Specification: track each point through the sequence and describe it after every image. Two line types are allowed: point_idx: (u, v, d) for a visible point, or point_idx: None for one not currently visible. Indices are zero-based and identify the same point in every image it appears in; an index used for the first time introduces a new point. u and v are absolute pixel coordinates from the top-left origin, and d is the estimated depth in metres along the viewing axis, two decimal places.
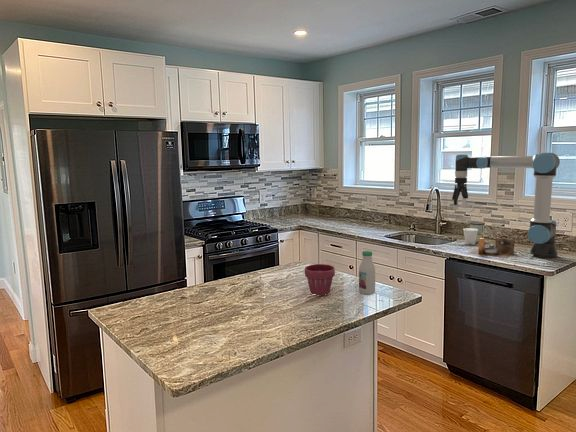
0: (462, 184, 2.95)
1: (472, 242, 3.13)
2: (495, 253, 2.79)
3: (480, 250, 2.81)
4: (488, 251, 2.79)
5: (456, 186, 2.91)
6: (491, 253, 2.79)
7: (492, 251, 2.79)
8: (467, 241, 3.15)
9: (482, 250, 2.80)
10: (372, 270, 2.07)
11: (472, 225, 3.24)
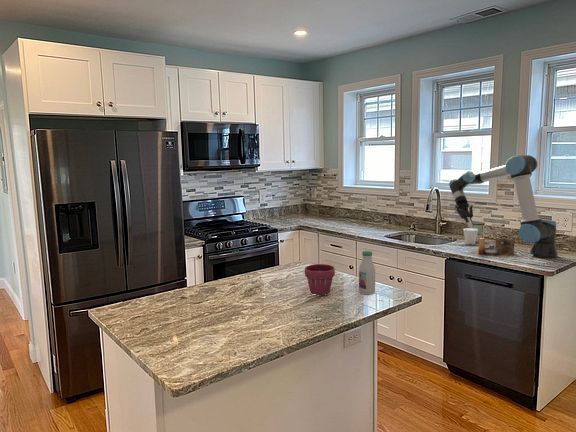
0: (462, 203, 3.05)
1: (472, 242, 3.13)
2: (495, 253, 2.79)
3: (480, 250, 2.81)
4: (488, 251, 2.79)
5: (455, 208, 3.04)
6: (491, 253, 2.79)
7: (492, 251, 2.79)
8: (467, 241, 3.15)
9: (482, 250, 2.80)
10: (372, 270, 2.07)
11: (472, 225, 3.24)
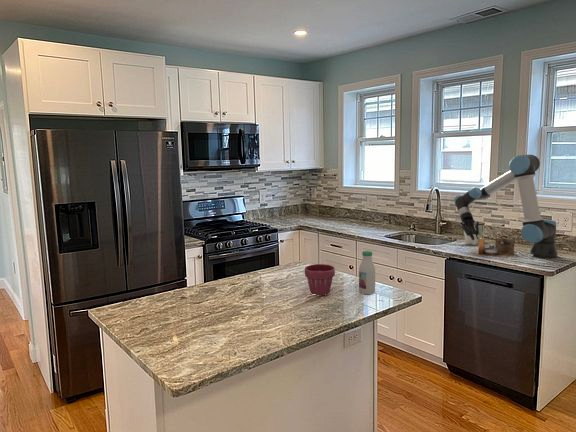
0: (468, 219, 2.98)
1: (472, 242, 3.13)
2: (495, 253, 2.79)
3: (480, 250, 2.81)
4: (488, 251, 2.79)
5: (460, 224, 2.97)
6: (491, 253, 2.79)
7: (492, 251, 2.79)
8: (467, 241, 3.15)
9: (482, 250, 2.80)
10: (372, 270, 2.07)
11: None
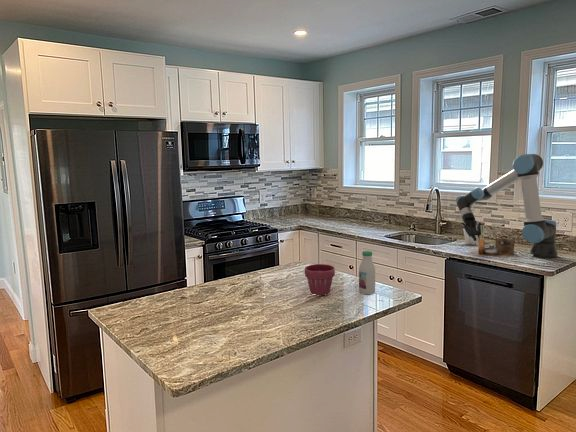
0: (470, 220, 2.95)
1: (472, 242, 3.13)
2: (495, 253, 2.79)
3: (480, 250, 2.81)
4: (488, 251, 2.79)
5: (462, 225, 2.94)
6: (491, 253, 2.79)
7: (492, 251, 2.79)
8: (467, 241, 3.15)
9: (482, 250, 2.80)
10: (372, 270, 2.07)
11: None
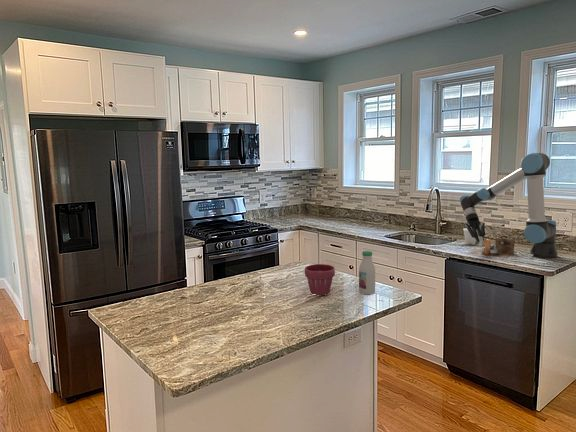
0: (474, 220, 2.90)
1: (472, 242, 3.13)
2: (498, 253, 2.80)
3: (488, 252, 2.76)
4: (494, 251, 2.78)
5: (466, 226, 2.89)
6: (496, 253, 2.78)
7: (497, 251, 2.78)
8: (467, 241, 3.15)
9: (489, 252, 2.76)
10: (372, 270, 2.07)
11: None
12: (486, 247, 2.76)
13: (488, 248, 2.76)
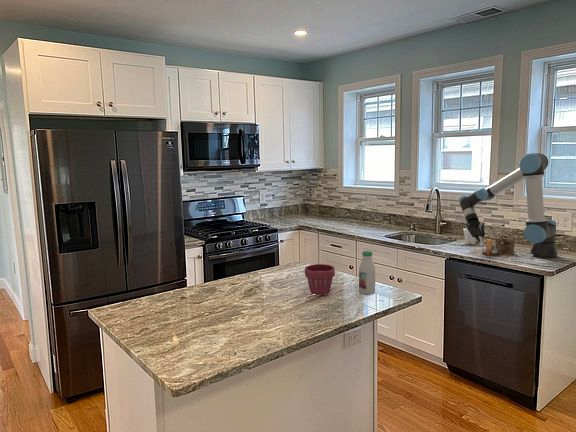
0: (473, 220, 2.91)
1: (472, 242, 3.13)
2: (498, 252, 2.80)
3: (490, 252, 2.76)
4: (495, 251, 2.78)
5: (466, 226, 2.89)
6: (497, 253, 2.79)
7: (498, 251, 2.79)
8: (467, 241, 3.15)
9: (491, 252, 2.76)
10: (372, 270, 2.07)
11: None
12: (488, 247, 2.75)
13: (490, 248, 2.75)
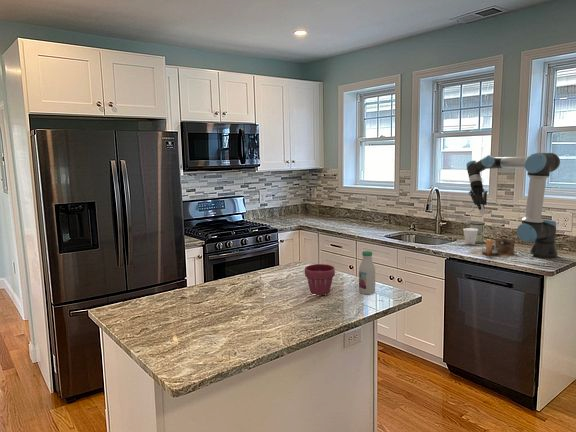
0: (478, 188, 3.00)
1: (472, 242, 3.13)
2: (498, 252, 2.80)
3: (490, 252, 2.76)
4: (495, 251, 2.78)
5: (470, 193, 2.99)
6: (497, 253, 2.79)
7: (498, 251, 2.79)
8: (467, 241, 3.15)
9: (491, 252, 2.76)
10: (372, 270, 2.07)
11: (472, 225, 3.24)
12: (488, 247, 2.75)
13: (490, 248, 2.75)
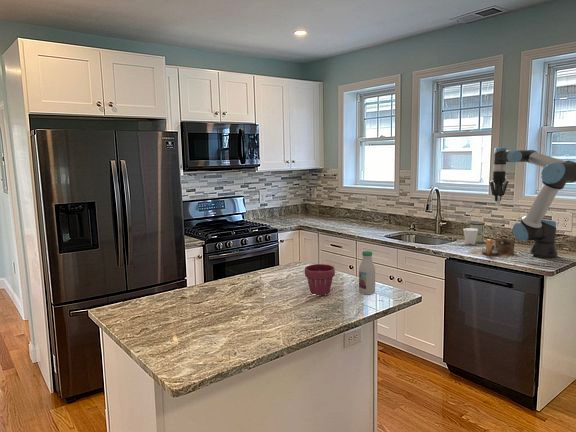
0: (500, 178, 2.95)
1: (472, 242, 3.13)
2: (498, 252, 2.80)
3: (490, 252, 2.76)
4: (495, 251, 2.78)
5: (490, 183, 2.96)
6: (497, 253, 2.79)
7: (498, 251, 2.79)
8: (467, 241, 3.15)
9: (491, 252, 2.76)
10: (372, 270, 2.07)
11: (472, 225, 3.24)
12: (488, 247, 2.75)
13: (490, 248, 2.75)
